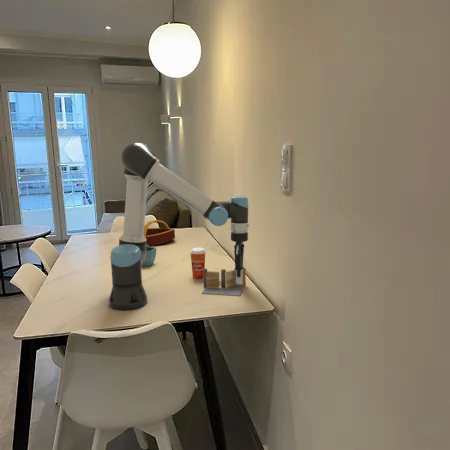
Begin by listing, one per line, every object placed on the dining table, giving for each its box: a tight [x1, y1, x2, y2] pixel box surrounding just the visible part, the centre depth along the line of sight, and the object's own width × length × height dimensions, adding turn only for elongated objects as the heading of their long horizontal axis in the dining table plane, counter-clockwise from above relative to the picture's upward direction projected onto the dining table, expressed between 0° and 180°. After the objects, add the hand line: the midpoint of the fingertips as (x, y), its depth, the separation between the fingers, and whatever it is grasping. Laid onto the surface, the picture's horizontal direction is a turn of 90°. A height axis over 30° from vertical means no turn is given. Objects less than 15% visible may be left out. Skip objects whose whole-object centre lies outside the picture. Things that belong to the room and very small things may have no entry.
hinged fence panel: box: [226, 267, 247, 287], centre depth 179 cm, size 9×2×8 cm, turn 107°
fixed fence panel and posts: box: [203, 268, 227, 288], centre depth 178 cm, size 2×10×8 cm, turn 79°
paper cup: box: [189, 247, 207, 280], centre depth 192 cm, size 8×8×14 cm
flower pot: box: [142, 246, 157, 267], centre depth 213 cm, size 9×9×9 cm
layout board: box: [201, 280, 246, 297], centre depth 178 cm, size 17×17×1 cm
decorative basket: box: [144, 219, 176, 247], centre depth 264 cm, size 34×29×15 cm
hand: (239, 283), depth 176 cm, fingers closed
